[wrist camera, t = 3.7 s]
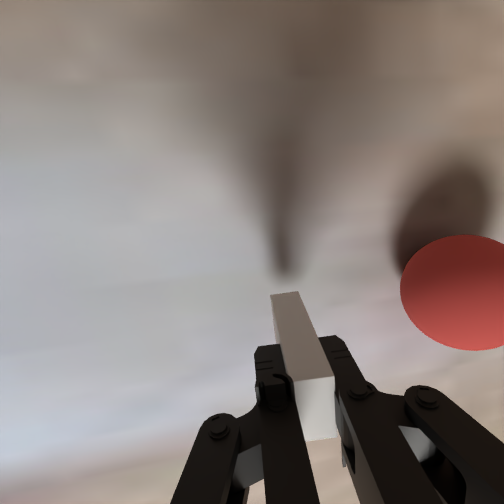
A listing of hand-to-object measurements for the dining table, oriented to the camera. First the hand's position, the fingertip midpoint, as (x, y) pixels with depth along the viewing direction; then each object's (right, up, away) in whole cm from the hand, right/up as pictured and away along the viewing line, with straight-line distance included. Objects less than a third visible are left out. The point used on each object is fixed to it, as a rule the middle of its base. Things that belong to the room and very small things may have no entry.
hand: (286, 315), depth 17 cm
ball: (+9, +1, 0) cm, 9 cm away
